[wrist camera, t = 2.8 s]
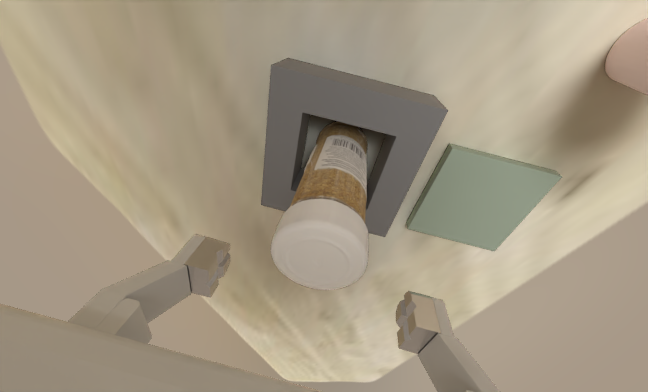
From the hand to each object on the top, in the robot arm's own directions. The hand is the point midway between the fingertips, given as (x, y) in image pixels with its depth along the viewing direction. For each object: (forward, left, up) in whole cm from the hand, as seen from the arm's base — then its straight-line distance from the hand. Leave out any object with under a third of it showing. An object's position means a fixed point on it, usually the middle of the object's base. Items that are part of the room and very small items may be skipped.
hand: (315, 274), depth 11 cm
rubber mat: (+1, +13, -14) cm, 19 cm away
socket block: (0, 0, -14) cm, 14 cm away
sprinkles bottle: (-1, 0, -14) cm, 14 cm away
